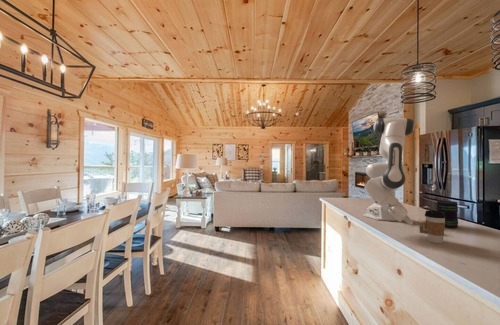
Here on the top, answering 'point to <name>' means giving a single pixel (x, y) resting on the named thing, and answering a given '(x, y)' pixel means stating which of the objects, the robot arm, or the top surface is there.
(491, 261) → the top surface
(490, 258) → the top surface
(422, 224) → the lettered cube
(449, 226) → the storage jar
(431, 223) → the coffee cup
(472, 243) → the top surface
